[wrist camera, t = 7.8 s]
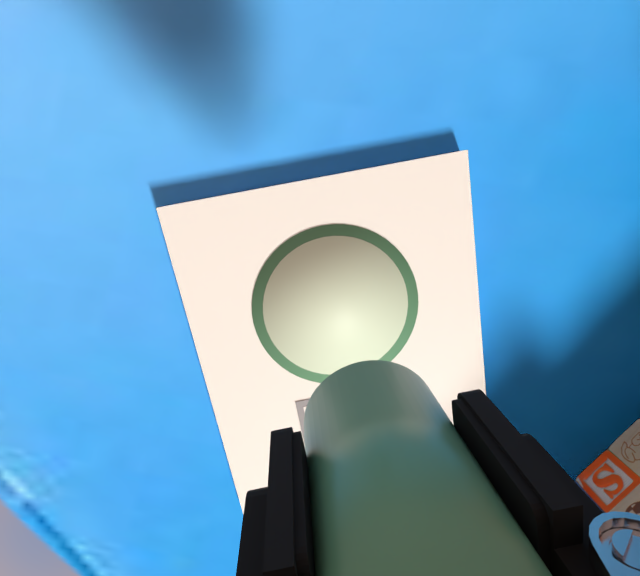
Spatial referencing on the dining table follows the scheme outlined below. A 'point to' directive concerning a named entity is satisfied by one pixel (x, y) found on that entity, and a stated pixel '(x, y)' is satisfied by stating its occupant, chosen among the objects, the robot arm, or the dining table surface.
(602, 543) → the robot arm
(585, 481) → the stack of blocks
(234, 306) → the activity sheet
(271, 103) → the dining table surface
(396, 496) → the marker
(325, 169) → the dining table surface
